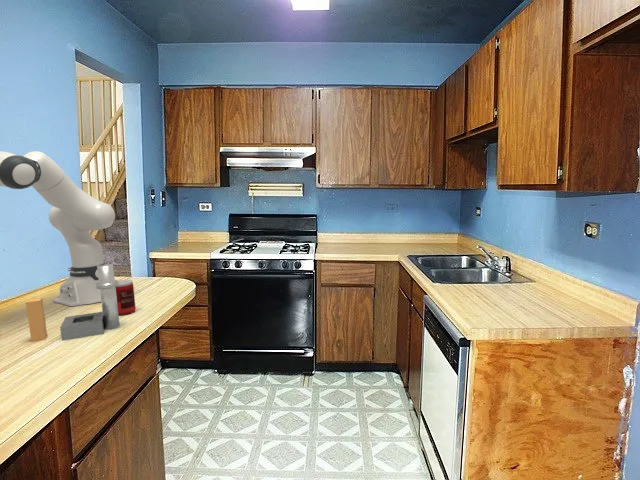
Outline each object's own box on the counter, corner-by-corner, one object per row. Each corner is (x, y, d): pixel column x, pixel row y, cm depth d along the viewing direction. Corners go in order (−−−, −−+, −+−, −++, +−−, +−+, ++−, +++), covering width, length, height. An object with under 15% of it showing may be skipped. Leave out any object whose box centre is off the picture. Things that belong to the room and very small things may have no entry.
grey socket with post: (61, 340, 124) (53, 274, 121) (67, 329, 134) (58, 267, 131) (122, 330, 131) (115, 267, 128) (123, 320, 141) (116, 261, 138)
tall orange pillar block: (31, 341, 124) (25, 302, 122) (33, 337, 127) (28, 299, 126) (45, 339, 126) (39, 300, 124) (47, 335, 129) (42, 297, 127)
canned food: (116, 310, 153) (113, 280, 151) (139, 308, 153) (136, 279, 152) (107, 316, 145) (104, 285, 144) (131, 315, 146) (128, 284, 144)
